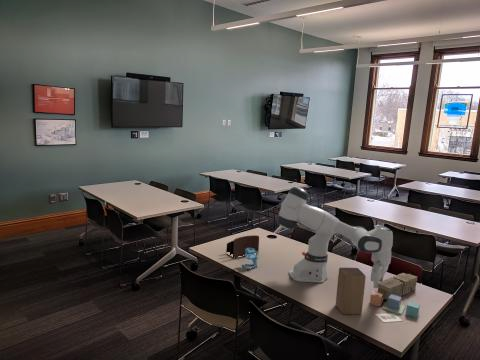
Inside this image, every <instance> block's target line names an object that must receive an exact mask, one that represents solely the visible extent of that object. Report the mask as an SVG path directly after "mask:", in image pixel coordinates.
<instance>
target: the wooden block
mask: <svg viewBox="0 0 480 360" xmlns="http://www.w3.org/2000/svg"><path fill="white" fill-rule="evenodd" d="M366 279H367V277H366V275H365V273H363V271H361V270H360V268H358V267H339V268H338V277H337V285H336V296H335V306H336V307H337V309H338V310H339V312H340V313H341V314H342V315H362V312H363V306H364V305H363V303H364V295H365V287H366Z"/></svg>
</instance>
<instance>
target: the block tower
mask: <svg viewBox="0 0 480 360" xmlns="http://www.w3.org/2000/svg"><path fill="white" fill-rule="evenodd" d="M417 282H418V276H416V275H412V274H411V273H405V272H402V273H399V274H397V275H395V276H392V277H389V278H385V279H383V281H382V282H378V288H377V292H379V293H383V300H386V301H388V299H389V296H390V295H391V294H392V295H396V296H399V297H401V298H402V296H404V295H406V294H407V295H408V294H409V293H411V292H414V291H415V290H417V289H416V288H417Z"/></svg>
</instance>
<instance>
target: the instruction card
mask: <svg viewBox="0 0 480 360" xmlns="http://www.w3.org/2000/svg"><path fill="white" fill-rule="evenodd" d="M374 315H375V316H376V317H377V318H378V319H379V320H380V321H381V322H382V323H395V322H403V320H402V319H401V318H400V317H399V316H398V314H396V313H393V312H387V313H386V312H385V313H374Z"/></svg>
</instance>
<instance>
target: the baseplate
mask: <svg viewBox="0 0 480 360" xmlns="http://www.w3.org/2000/svg"><path fill="white" fill-rule="evenodd" d="M401 302H402V296H401V297H399V296H396V295H392V294H391V295H390V296H389V299H388V300H386V301H385V302H384V304H383V305H382V307H381V309H382V310H384V311H388V312H389V313H393V312H394V314H396V315H400V316H402V315H403V313H404V311H405V308H406V306H405V305H403V304H402V303H401Z"/></svg>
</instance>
